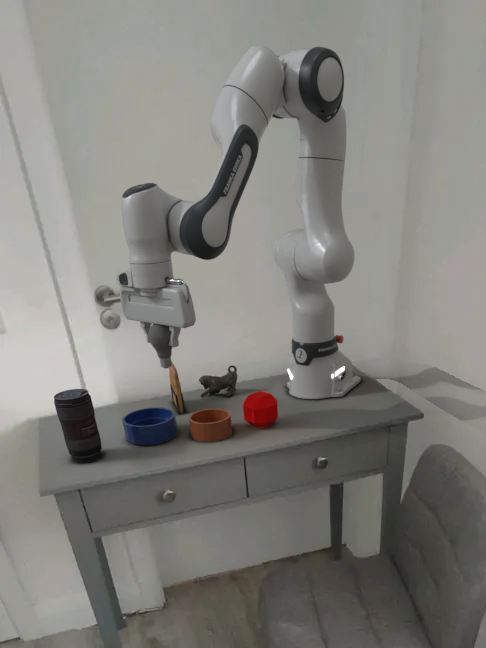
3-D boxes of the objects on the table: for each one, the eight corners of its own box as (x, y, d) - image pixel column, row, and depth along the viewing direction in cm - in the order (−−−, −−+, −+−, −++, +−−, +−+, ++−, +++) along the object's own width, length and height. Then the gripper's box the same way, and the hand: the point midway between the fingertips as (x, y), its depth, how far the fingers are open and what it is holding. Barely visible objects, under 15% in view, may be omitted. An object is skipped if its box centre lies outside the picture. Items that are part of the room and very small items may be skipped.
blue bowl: (153, 423, 158) (150, 404, 155) (188, 432, 152) (185, 413, 149) (115, 439, 151) (111, 420, 148) (150, 450, 144) (146, 430, 141)
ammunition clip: (185, 413, 163) (178, 367, 155) (178, 414, 162) (171, 368, 155) (179, 400, 171) (172, 356, 164) (172, 401, 171) (165, 357, 163)
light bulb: (150, 366, 142) (143, 320, 136) (175, 362, 144) (168, 317, 138) (157, 373, 138) (149, 326, 131) (182, 368, 139) (176, 322, 133)
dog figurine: (234, 388, 177) (232, 362, 172) (242, 394, 172) (239, 367, 168) (195, 396, 173) (192, 369, 169) (202, 402, 169) (198, 375, 164)
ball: (262, 416, 158) (260, 386, 153) (284, 423, 153) (282, 393, 148) (239, 425, 153) (236, 395, 149) (261, 433, 148) (258, 402, 144)
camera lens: (105, 448, 147) (90, 386, 138) (103, 462, 140) (88, 397, 131) (71, 452, 146) (54, 389, 137) (68, 466, 140) (50, 401, 131)
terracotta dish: (211, 423, 156) (208, 405, 153) (240, 430, 150) (239, 413, 148) (182, 436, 150) (180, 418, 147) (212, 445, 144) (210, 426, 142)
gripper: (197, 276, 126) (205, 346, 134) (132, 271, 136) (143, 336, 145) (175, 282, 122) (185, 353, 130) (110, 275, 133) (123, 342, 141)
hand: (162, 344), depth 138 cm, fingers closed on light bulb, 6 cm apart
